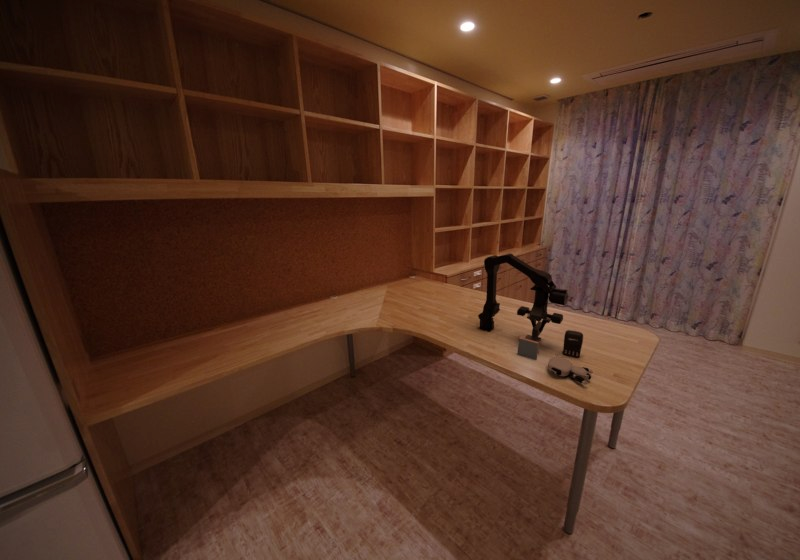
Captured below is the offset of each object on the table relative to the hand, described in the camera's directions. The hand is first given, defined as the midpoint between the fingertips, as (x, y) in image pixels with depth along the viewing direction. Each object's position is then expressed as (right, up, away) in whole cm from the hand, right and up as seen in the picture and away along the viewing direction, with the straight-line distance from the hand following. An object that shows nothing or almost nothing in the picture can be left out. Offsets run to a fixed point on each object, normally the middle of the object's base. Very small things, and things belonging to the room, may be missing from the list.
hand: (537, 331), depth 137 cm
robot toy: (+2, -14, -22) cm, 26 cm away
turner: (-2, -2, -2) cm, 4 cm away
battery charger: (+10, -9, -9) cm, 17 cm away
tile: (-9, -10, -9) cm, 16 cm away
